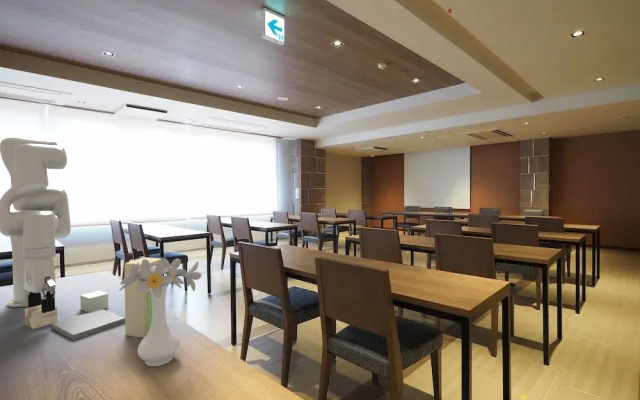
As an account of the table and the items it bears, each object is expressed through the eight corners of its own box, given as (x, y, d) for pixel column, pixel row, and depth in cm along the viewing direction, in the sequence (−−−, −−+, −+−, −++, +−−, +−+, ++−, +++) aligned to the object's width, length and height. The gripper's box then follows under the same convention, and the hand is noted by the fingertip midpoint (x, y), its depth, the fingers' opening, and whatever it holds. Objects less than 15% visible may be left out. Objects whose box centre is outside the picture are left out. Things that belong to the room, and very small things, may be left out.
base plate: (51, 328, 100) (51, 323, 100) (101, 313, 112) (101, 308, 112) (73, 340, 92) (73, 334, 92) (125, 322, 104) (125, 318, 104)
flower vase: (208, 351, 87) (208, 256, 86) (136, 385, 72) (135, 270, 71) (179, 337, 95) (179, 250, 94) (108, 366, 80) (107, 262, 78)
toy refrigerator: (147, 338, 94) (146, 264, 93) (124, 335, 95) (123, 262, 95) (165, 326, 102) (165, 258, 101) (144, 324, 103) (143, 257, 102)
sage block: (80, 309, 115) (80, 295, 115) (99, 304, 120) (99, 290, 120) (89, 313, 112) (89, 298, 112) (108, 307, 117) (108, 293, 117)
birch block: (25, 324, 102) (24, 308, 102) (49, 318, 107) (48, 303, 107) (33, 329, 99) (32, 312, 99) (57, 322, 104) (56, 306, 104)
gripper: (13, 252, 103) (14, 308, 104) (36, 257, 94) (38, 318, 95) (42, 249, 110) (44, 301, 110) (67, 253, 101) (68, 310, 101)
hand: (41, 308), depth 102 cm, fingers open, 9 cm apart
